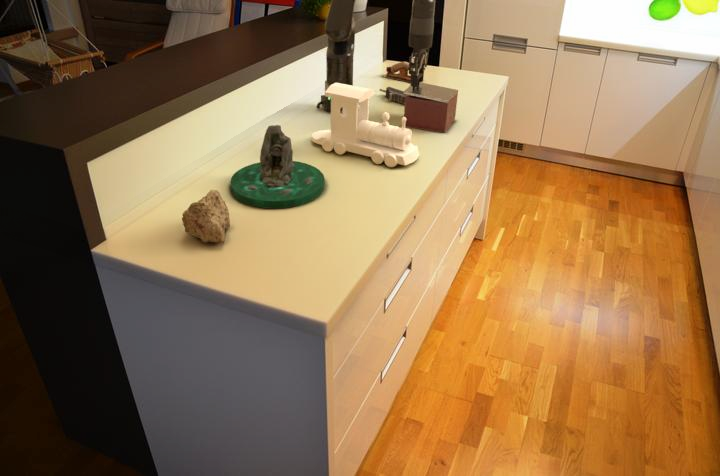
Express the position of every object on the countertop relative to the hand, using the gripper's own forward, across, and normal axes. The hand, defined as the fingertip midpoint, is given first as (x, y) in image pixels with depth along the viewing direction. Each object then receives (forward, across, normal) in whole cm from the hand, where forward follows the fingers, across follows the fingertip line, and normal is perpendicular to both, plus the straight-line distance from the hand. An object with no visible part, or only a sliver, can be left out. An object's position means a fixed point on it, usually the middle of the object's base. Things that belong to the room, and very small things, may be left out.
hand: (416, 83), depth 199 cm
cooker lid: (+2, 0, +5) cm, 6 cm away
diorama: (+13, +64, -17) cm, 68 cm away
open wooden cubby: (+13, 0, +6) cm, 14 cm away
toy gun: (+13, -19, -5) cm, 23 cm away
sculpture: (+13, -46, -20) cm, 52 cm away
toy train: (+13, +32, -6) cm, 36 cm away
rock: (+13, +91, -18) cm, 94 cm away
